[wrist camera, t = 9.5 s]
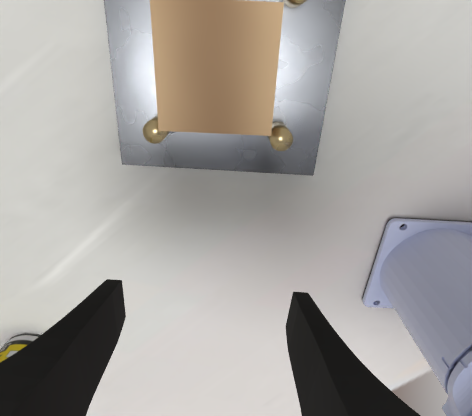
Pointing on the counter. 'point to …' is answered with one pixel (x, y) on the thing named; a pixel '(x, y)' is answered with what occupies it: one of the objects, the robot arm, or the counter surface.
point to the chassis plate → (227, 145)
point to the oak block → (216, 64)
